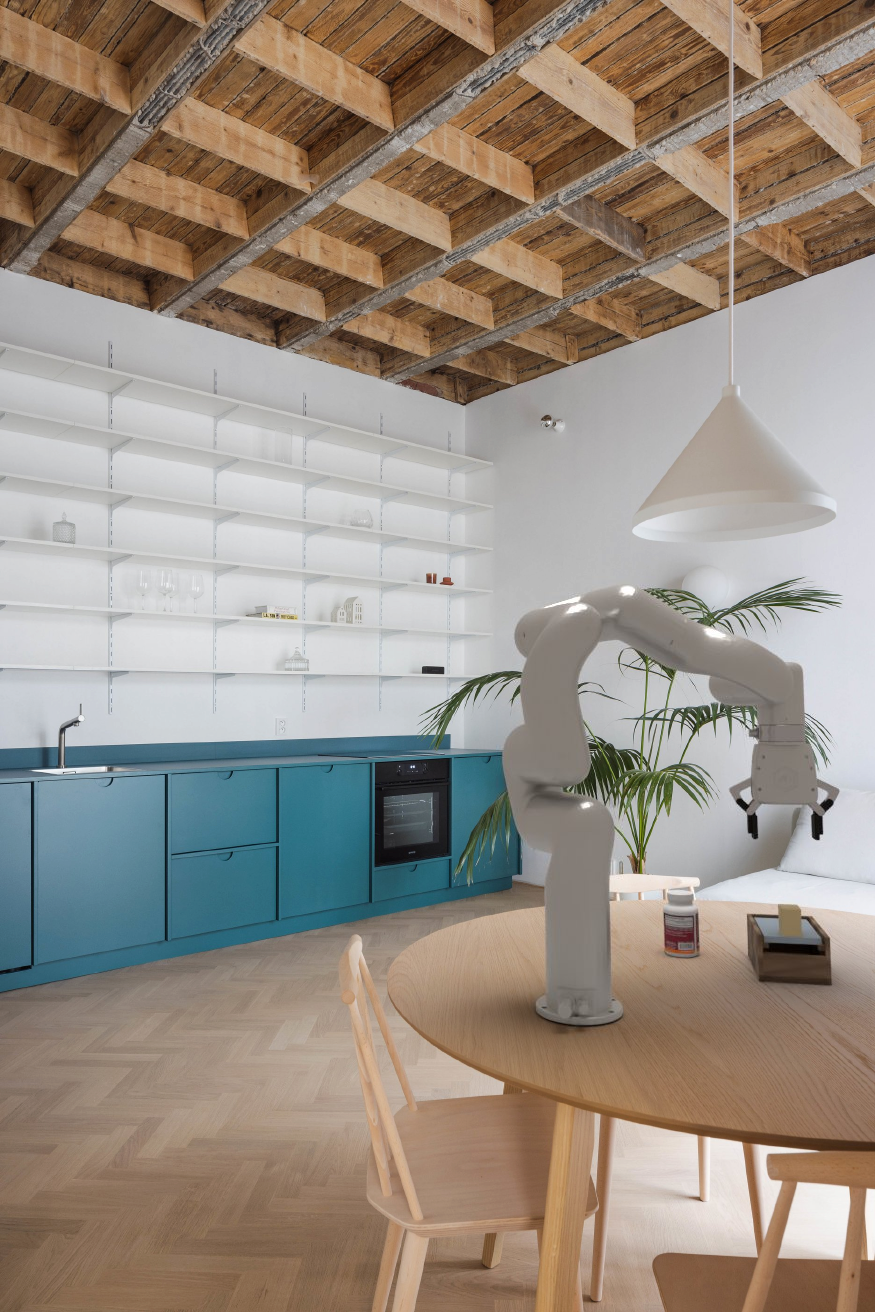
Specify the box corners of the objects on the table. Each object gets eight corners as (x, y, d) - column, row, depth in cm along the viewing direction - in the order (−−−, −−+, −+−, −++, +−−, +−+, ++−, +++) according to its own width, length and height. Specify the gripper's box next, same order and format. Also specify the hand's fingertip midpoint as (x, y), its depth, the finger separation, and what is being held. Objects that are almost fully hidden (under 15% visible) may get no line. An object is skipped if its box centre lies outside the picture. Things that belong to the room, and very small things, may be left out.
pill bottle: (678, 947, 168) (676, 887, 169) (706, 954, 163) (705, 892, 164) (657, 953, 164) (655, 892, 165) (686, 960, 159) (684, 897, 160)
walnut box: (831, 985, 144) (830, 938, 145) (759, 981, 147) (757, 935, 147) (813, 958, 160) (811, 916, 160) (748, 955, 162) (746, 913, 163)
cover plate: (821, 945, 146) (820, 911, 146) (764, 942, 148) (763, 908, 148) (806, 925, 159) (805, 894, 160) (754, 923, 161) (753, 892, 162)
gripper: (729, 736, 150) (733, 841, 149) (841, 736, 146) (845, 843, 145) (725, 735, 157) (728, 835, 156) (831, 734, 153) (835, 836, 152)
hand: (785, 838), depth 151 cm, fingers open, 9 cm apart
